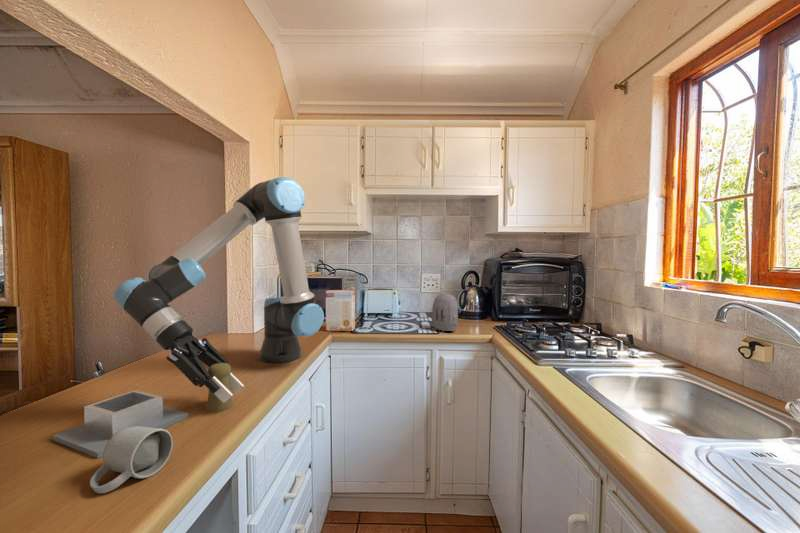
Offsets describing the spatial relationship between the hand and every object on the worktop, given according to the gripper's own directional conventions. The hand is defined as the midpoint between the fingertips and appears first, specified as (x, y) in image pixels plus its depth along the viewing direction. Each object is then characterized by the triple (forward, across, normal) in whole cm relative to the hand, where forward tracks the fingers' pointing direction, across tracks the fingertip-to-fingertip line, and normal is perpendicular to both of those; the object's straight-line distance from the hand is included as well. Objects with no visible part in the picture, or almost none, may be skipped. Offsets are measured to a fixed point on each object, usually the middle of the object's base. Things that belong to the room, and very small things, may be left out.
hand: (234, 394), depth 87 cm
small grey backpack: (+48, -90, +43) cm, 111 cm away
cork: (0, 0, -5) cm, 5 cm away
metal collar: (-11, +11, -16) cm, 22 cm away
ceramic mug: (-1, +27, -6) cm, 28 cm away
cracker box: (+10, -89, +5) cm, 90 cm away
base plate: (-11, +11, -16) cm, 22 cm away
